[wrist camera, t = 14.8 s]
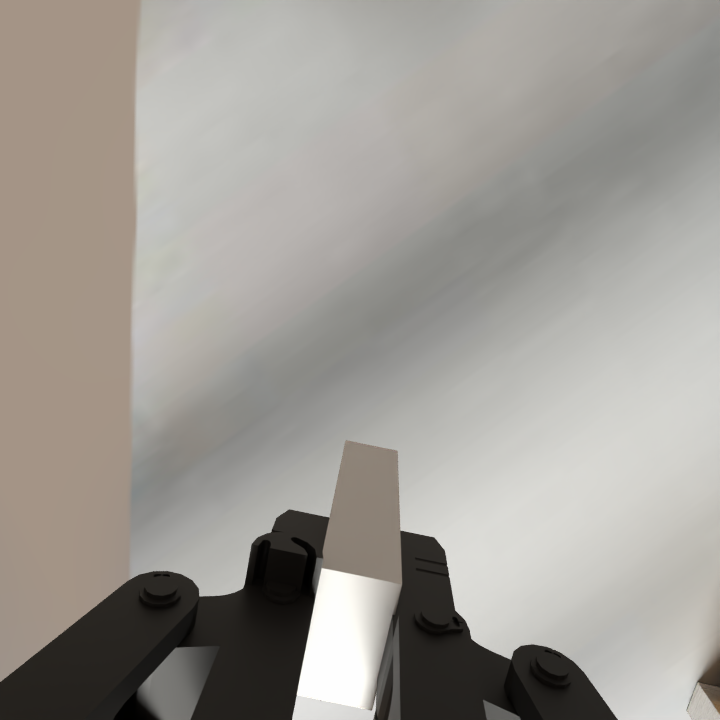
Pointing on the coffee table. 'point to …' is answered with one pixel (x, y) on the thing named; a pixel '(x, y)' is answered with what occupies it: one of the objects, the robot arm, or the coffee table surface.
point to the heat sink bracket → (705, 703)
